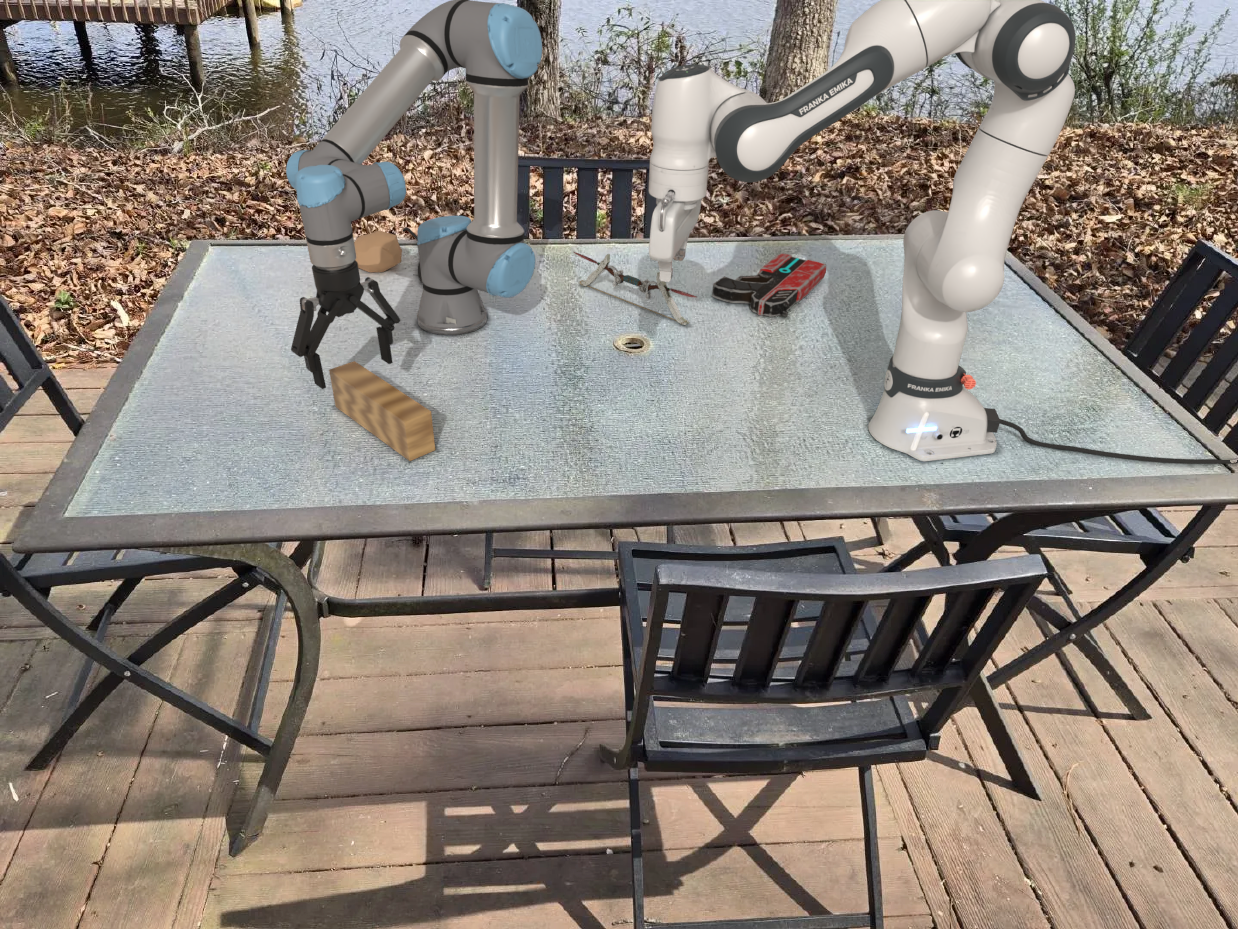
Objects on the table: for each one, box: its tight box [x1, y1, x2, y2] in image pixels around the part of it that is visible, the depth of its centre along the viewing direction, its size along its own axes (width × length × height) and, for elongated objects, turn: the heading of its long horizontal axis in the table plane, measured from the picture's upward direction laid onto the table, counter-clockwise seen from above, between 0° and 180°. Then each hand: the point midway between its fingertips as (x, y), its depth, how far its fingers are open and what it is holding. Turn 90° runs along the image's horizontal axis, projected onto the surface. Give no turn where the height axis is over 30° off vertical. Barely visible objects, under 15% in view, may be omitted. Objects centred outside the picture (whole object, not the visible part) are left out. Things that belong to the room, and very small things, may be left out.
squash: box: [354, 230, 403, 273], centre depth 220 cm, size 11×20×9 cm, turn 90°
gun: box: [711, 252, 827, 318], centre depth 215 cm, size 4×31×19 cm
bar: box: [328, 360, 436, 462], centre depth 156 cm, size 25×5×8 cm, turn 44°
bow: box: [573, 251, 698, 326], centre depth 205 cm, size 39×2×10 cm, turn 47°
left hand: (354, 373), depth 160 cm, fingers open, 13 cm apart
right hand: (672, 269), depth 140 cm, fingers open, 8 cm apart
